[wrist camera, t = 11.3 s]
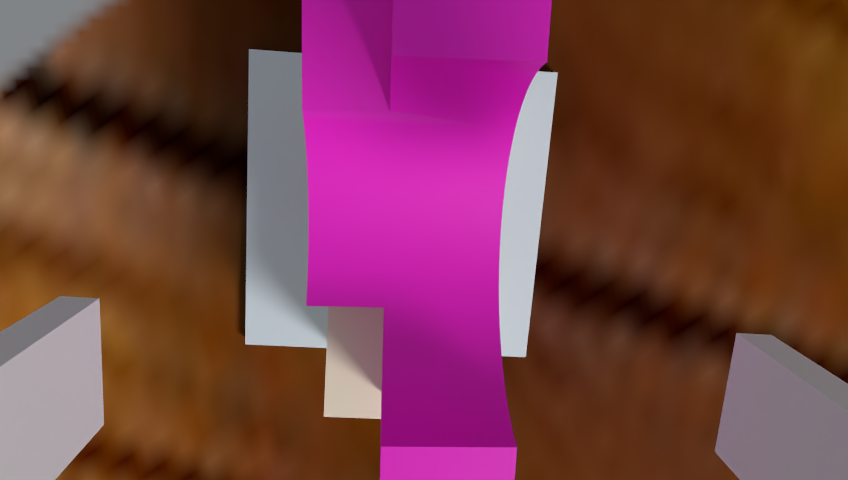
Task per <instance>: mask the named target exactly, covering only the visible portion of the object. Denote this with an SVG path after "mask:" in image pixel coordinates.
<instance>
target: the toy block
mask: <svg viewBox="0 0 848 480" xmlns="http://www.w3.org/2000/svg"><path fill="white" fill-rule="evenodd" d="M551 3H552V0H302V112H303V120H304V130H305V141H306V156H307V175H308V217H309V222H308V277H307V299H306V306H329V307H380V308H384V318H383V355H382V392H381V447H380V480H514V479H515V466H516V453H517V446H516V442H515V438H514V435H513V430H512V426H511V421H510V416H509V410H508V405H507V398H506V391H505V383H504V375H503V365H502V354H501V340H500V318H499V259H500V237H501V222H502V211H503V200H504V191H505V183H506V176H507V169H508V163H509V157H510V152H511V146H512V141H513V137H514V132H515V128H516V124H517V120H518V117H519V113H520V110H521V107H522V104H523V101H524V98H525V95H526V93H527V90H528V88H529V86H530V84H531V82H532V80H533V78H534V77H535V75H536V73H537V72H538V71H539V69H540V68H541V67H542V66H543V65H544V64H545V63H547V55H548V42H549V29H550V16H551Z"/></svg>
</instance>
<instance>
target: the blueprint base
mask: <svg viewBox="0 0 848 480" xmlns="http://www.w3.org/2000/svg"><path fill="white" fill-rule="evenodd" d="M557 74H558V73H555V72H542V71H538V72H537V73H536V75H535V77H534V78H533V80H532V82H531V84H530V86H529V88H528V90H527V93H526V95H525V98H524V101H523V104H522V107H521V110H520V113H519V117H518V120H517V124H516V128H515V132H514V137H513V141H512V146H511V152H510V157H509V163H508V169H507V176H506V183H505V191H504V200H503V211H502V222H501V237H500V259H499V318H500V340H501V354H502V356H513V357H526V349H527V340H528V331H529V323H530V314H531V305H532V296H533V287H534V278H535V269H536V260H537V251H538V243H539V234H540V225H541V216H542V207H543V198H544V189H545V180H546V171H547V163H548V154H549V145H550V136H551V127H552V118H553V109H554V100H555V91H556V83H557ZM308 222H309V217H308V175H307V156H306V141H305V130H304V120H303V112H302V53H294V52H281V51H268V50H255V49H249V83H248V161H247V239H246V317H245V344H252V345H274V346H296V347H318V348H327V353H326V377H325V401H324V417H347V418H372V419H381V392H382V355H383V318H384V308H380V307H329V306H306V299H307V277H308Z"/></svg>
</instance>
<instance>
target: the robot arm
mask: <svg viewBox="0 0 848 480" xmlns="http://www.w3.org/2000/svg"><path fill="white" fill-rule="evenodd" d="M103 425H104V413H103V385H102V358H101V330H100V303H99V298H82V297H63V296H60V297H58V298H56V299H55V300H53V301H51V302H50V303H48V304H46V305H45V306H43V307H41V308H40V309H38V310H36V311H35V312H33V313H31V314H30V315H28V316H26V317H25V318H23V319H21V320H20V321H18V322H16V323H15V324H13V325H11V326H10V327H8V328H6V329H5V330H3V331H1V332H0V480H55V479H56V478H57V477H58V476H59V475H60V474H61V472H62V471H63V470H64V469H65V468H66V467H67V466H68V465H69V463H70V462H71V461H72V460H73V459H74V458H75V457H76V455H77V454H78V453H79V452H80V451H81V450H82V449H83V448H84V446H85V445H86V444H87V443H88V442H89V441H90V440H91V439H92V437H93V436H94V435H95V434H96V433H97V432H98V431H99V430H100V428H101V427H102V426H103ZM715 452H716V453H717V455H718V456H719V457H720V458H721V459H722V460H723V461H724V462H725V464H726V465H727V466H728V467H729V468H730V469H731V470H732V471H733V473H734V474H735V475H736V476H737V477H738V478H739V479H740V480H848V384H847V383H845V382H844V381H842V380H841V379H839V378H838V377H836V376H834V375H833V374H831V373H830V372H828V371H827V370H825V369H824V368H822V367H820V366H819V365H817V364H816V363H814V362H813V361H811V360H810V359H808V358H806V357H805V356H803V355H802V354H800V353H799V352H797V351H796V350H794V349H792V348H791V347H789V346H788V345H786V344H785V343H783V342H782V341H780V340H778V339H777V338H775V337H774V336H772V335H760V334H742V333H736V339H735V344H734V350H733V355H732V360H731V366H730V371H729V377H728V382H727V388H726V393H725V399H724V404H723V410H722V415H721V420H720V426H719V431H718V437H717V442H716V448H715Z"/></svg>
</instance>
